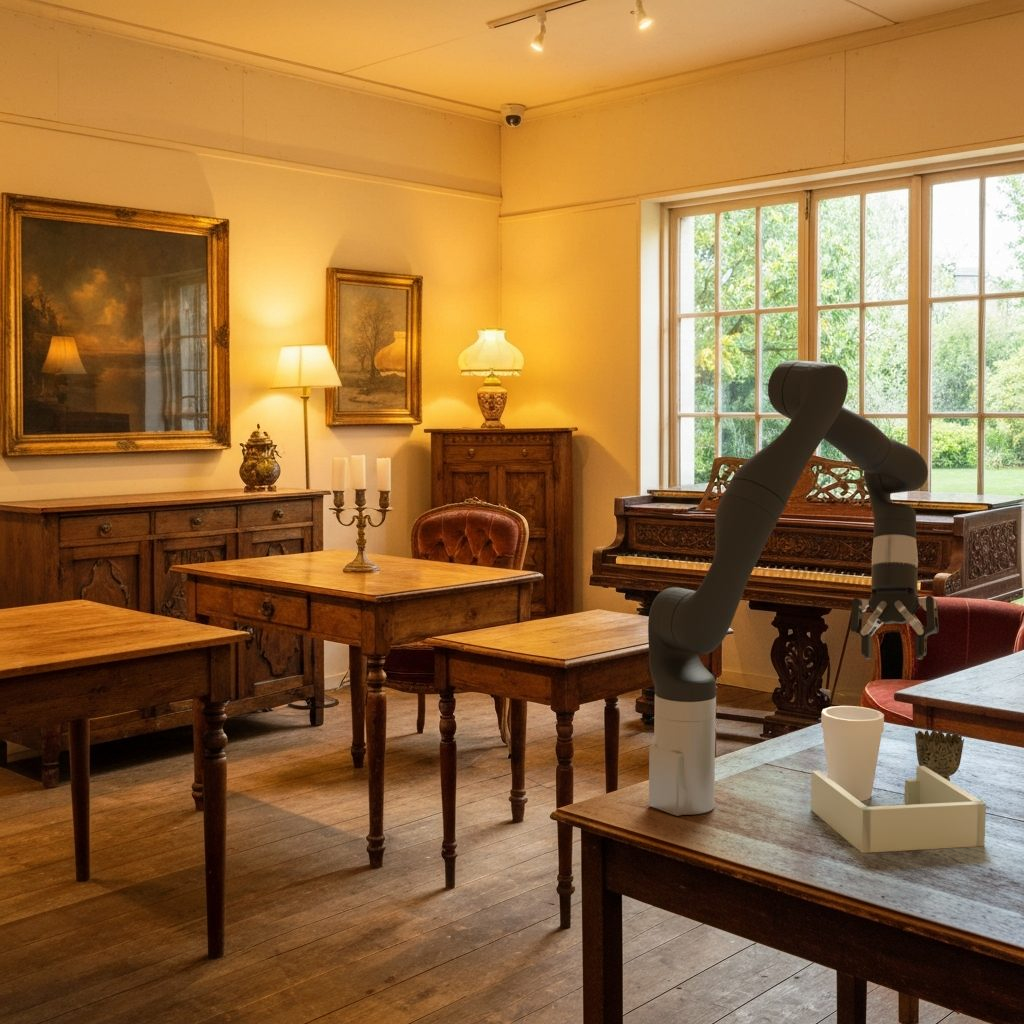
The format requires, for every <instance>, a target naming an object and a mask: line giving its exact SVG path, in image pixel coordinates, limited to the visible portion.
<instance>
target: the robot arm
mask: <svg viewBox="0 0 1024 1024" xmlns="http://www.w3.org/2000/svg"><path fill="white" fill-rule="evenodd" d="M848 380H849V379H848V377H847V373H846V372H845V370H844V368H842V367H841V365H840V366H839V365H838V364H835V363H830V362H825V361H824V362H821V361H811V360H792V359H791V360H787V361H783V362H781V363H779V364H778V365H777V366H776V367H775V368H774V369H773V370H772V372H771V374H770V376H769V379H768V383H767V395H768V399H769V402H770V404H771V406H772V408H773V409H774V410H775V412H777V413H778V414H780V415H782V416H783V417H785V418H787V419H789V420H790V421H789V423H788V425H786V427H785V428H784V430H783V431H782V432H781V433H780V434H779V435H778V436H777V437H776V438H775V439H774V440H772V441H771V442H770V443H769V444H767V445H766V446H765V447H763V448H762V449H760V450H759V451H757V452H756V453H755V454H754V455H752V456H751V457H750V458H749V459H748V460H746V461H745V462H744V463H742V465H741V466H740V467H739V468H738V469H737V470H736V472H735V473H734V474H733V476H732V478H730V481H729V483H728V485H727V486H726V489H725V490H724V492H723V494H722V496H721V499H720V500H719V503H718V504H717V507H716V511H715V517H714V538H715V540H714V541H715V542H714V543H715V545H714V555H713V559H712V561H711V564H710V566H709V569H708V570H707V572H706V575H705V576H704V579H703V580H702V581H701V583H700V585H699V587H698V588H697V590H693V589H688V588H682V587H668V588H665V589H663V590H662V591H660V592H659V593H658V594H657V595H656V597H655V598H654V599H653V601H652V604H651V606H650V609H649V614H648V622H647V623H648V624H647V633H648V635H647V637H648V663H649V664H648V665H649V673H650V676H651V678H652V682H653V685H654V723H653V725H654V727H653V729H654V731H653V732H654V734H653V736H654V737H653V738H654V739H653V743H651V744H650V745H649V750H648V751H649V752H648V753H649V754H648V758H649V759H648V765H649V766H648V769H649V770H648V806H649V807H651V808H654V809H657V810H660V811H662V812H666V813H667V814H670V815H673V816H677V817H678V816H682V815H683V816H685V815H701V814H706V813H708V812H711V811H712V810H714V808H715V796H716V795H715V790H716V789H715V785H716V784H715V783H716V781H715V780H716V721H717V720H716V719H717V715H716V713H717V708H716V707H717V679H716V678H715V676H714V675H713V674H712V673H711V672H710V671H709V670H708V669H707V667H705V666H704V664H703V663H702V660H701V659H700V657H699V656H700V655H702V656H703V655H707V654H709V653H712V652H714V651H715V650H716V649H717V648H718V647H720V645H721V644H722V642H723V641H724V640H725V638H726V636H727V634H728V632H729V630H730V627H731V625H732V623H733V621H734V617H735V616H736V612H737V609H738V607H739V605H740V602H741V599H742V597H743V594H744V592H745V589H746V588H747V584H748V582H749V580H750V577H751V575H752V573H753V570H754V569H755V567H756V565H757V563H758V561H759V558H760V556H761V554H762V552H763V550H764V548H765V546H766V544H767V542H768V540H769V538H770V536H771V535H772V533H773V531H774V530H775V527H776V526H777V523H778V522H779V520H780V517H781V516H782V515H783V513H784V511H785V508H786V506H787V503H788V502H789V499H790V498H791V495H792V493H793V490H794V489H795V487H796V485H797V483H798V482H799V479H800V478H801V477H802V474H803V473H804V471H805V469H806V467H807V465H808V464H809V462H810V460H811V458H812V456H813V455H814V454H815V452H816V450H817V448H818V447H819V445H820V444H821V442H822V441H823V440H824V441H826V442H828V443H829V444H830V445H832V446H833V447H834V448H835V449H836V450H838V451H839V452H840V453H842V455H844V456H845V457H846V458H847V459H848V460H849V461H850V462H852V463H853V464H854V465H855V466H856V467H858V469H860V470H861V471H862V472H863V480H864V484H865V486H866V487H865V488H866V490H867V492H868V497H869V501H870V506H871V509H872V514H873V542H872V547H871V548H872V549H871V550H872V551H871V590H870V591H871V595H870V598H869V599H861V598H858V597H854V598H853V599H852V602H851V603H852V604H851V615H850V616H851V618H850V632H853V633H854V634H857V635H860V637H861V638H860V639H861V645H860V646H861V647H860V649H861V651H860V652H861V655H863V656H864V658H865V659H866V660H873V657H874V655H873V652H874V648H873V647H874V638H873V637H872V636H873V635H874V634H875V632H876V631H877V630H878V629H879V628H880V627H881V626H882V625H883V624H885V625H893V624H898V625H899V624H900V625H905V624H906V623H908V624H909V626H911V627H912V629H913V631H914V632H916V633H915V634H916V635H915V637H914V642H915V643H914V650H915V651H914V655H915V659H916V660H924V657H926V656H927V653H928V652H927V651H928V649H927V647H928V646H927V645H928V644H927V643H928V641H927V640H928V637H929V636H931V635H933V634H937V633H939V629H940V628H939V627H940V626H939V614H938V613H939V611H938V600H937V599H936V598H934V597H933V596H932V595H928V596H927V597H920V598H919V596H918V565H919V558H918V557H919V555H918V547H917V513H916V510H915V508H914V507H912V506H911V505H909V504H904V503H899V502H898V503H897V502H892V499H891V498H892V497H891V494H898V493H899V494H900V493H906V492H907V493H908V492H914V491H917V490H919V489H920V488H921V487H923V486H924V485H925V484H926V481H927V480H928V475H929V474H928V473H929V468H928V464H927V463H926V461H925V458H924V457H923V456H922V455H921V454H920V452H919V451H917V450H916V449H914V448H913V447H911V446H909V445H906V444H905V443H902V442H899V441H898V440H895V439H891V438H889V437H888V435H886V434H885V433H884V432H883V431H882V430H881V429H880V428H879V427H878V426H876V425H875V424H874V423H873V422H872V421H870V420H868V419H867V418H865V417H863V416H862V415H860V414H858V413H856V412H854V411H852V410H850V409H848V408H845V407H843V406H844V404H845V402H846V398H847V395H848V388H849V382H848ZM920 606H921V607H922V609H923V610H924V611H925V613H926V614H925V615H926V626H924V625H923V624H922V623H921V621H920V620H919V619H918V617H917V616H916V615H915V613H916V611H917V610H918V609H919V607H920ZM868 607H870V609H871V610H872V614H871V615H870V616H869V618H868V619H867V621H866V624H865V625H864V626H863V621H864V620H863V619H864V613H865V612H866V611H867V609H868Z"/></svg>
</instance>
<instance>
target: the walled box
mask: <svg viewBox="0 0 1024 1024" xmlns="http://www.w3.org/2000/svg"><path fill="white" fill-rule="evenodd" d="M915 771H916V773H915V775H916V777H915V778H906V779H904V801H903V802H904V804H899V805H898V804H897V805H879V806H878V805H877V806H867V805H866V804H864V803H863V802H862V801H859V800H858V799H856V798H855V797H854V796H852V795H851V794H850V793H848V792H847V791H846V790H844V789H843V788H842V787H840V786H839V785H838V784H836V783H835V782H834V781H832V780H831V779H830V778H828V775H826V774H825V773H824V772H822V771H821V770H811V780H810V781H811V783H810V784H811V785H810V786H811V789H810V790H811V791H810V810H811V811H812V812H813V814H815V815H816V816H818V817H819V818H820V819H821V820H822V821H823V822H824V823H826V824H827V825H828V826H829V827H831V828H832V829H833V830H834V831H835V832H836V833H838V834H839V835H840V836H841V837H842V838H843V839H844V840H846V841H847V842H848V843H849V844H850V845H852V846H853V847H854V848H855V849H857V851H859V852H860V853H861V854H865V853H882V852H883V853H884V852H897V851H899V852H901V851H916V850H917V851H918V850H935V849H953V848H972V847H974V848H975V847H984V846H985V845H986V843H985V840H986V811H987V810H986V809H987V803H986V802H983V801H982V800H980V799H979V798H977V797H975V796H974V795H972V794H971V793H970V792H967V791H966V790H964V789H963V788H961V787H960V786H958V785H956V784H954V783H953V782H951V780H950V781H948V780H946V779H945V778H943V777H941V776H940V775H938V774H937V773H935V772H933V771H932V770H930V769H928V768H927V767H925V766H919V765H917V766H916V770H915Z"/></svg>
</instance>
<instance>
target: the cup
mask: <svg viewBox="0 0 1024 1024" xmlns="http://www.w3.org/2000/svg"><path fill="white" fill-rule="evenodd" d="M914 737H915V748H916V749H915V750H916V756H917V757H916V758H917V762H918V763H917V764H918V766H925V767H927V768H928V769H930V770H932V771H933V772H935V773H937V774H938V775H940V776H941V777H943V778H945V779H946V780H948V781H950V782H951V776H953V775H955V773H957V772H958V770H959V767H960V765H961V760H962V755H963V748H964V743H965V742H964V741H965V738H963V737H962V735H959V733H958V732H955V733H952V734H951V732H950V731H949V730H948V731H947V732H946V733H944V732H943V731H942V730H938V731H936V730H935V729H933V730H931V731H930V733H929V730H928V729H926V730H925V731H924V733H923V731H922V730H918V731H917V732H914Z"/></svg>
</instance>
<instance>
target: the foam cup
mask: <svg viewBox="0 0 1024 1024" xmlns="http://www.w3.org/2000/svg"><path fill="white" fill-rule="evenodd" d="M820 715H821V716H820V717H821V719H820V722H821V724H820V727H821V728H822V734H823V736H822V737H823V743H824V744H823V745H824V754H825V761H826V770H827V772H826V773H827V777H828V778H830V779H831V780H832V781H834V782H835V783H836V784H838V785H839V786H840V787H842V788H843V789H844V790H846V791H847V792H848V793H850V794H851V795H852V796H854V797H855V798H856V799H858V800H859V801H860V802H862V801H867V800H869V799H870V800H871V798H872V793H873V789H874V782H875V777H876V776H875V775H876V772H877V764H878V759H879V754H880V753H879V752H880V746H881V742H882V741H881V739H882V735H883V732H884V728H885V714H884V713H882V712H881V711H879V710H877V709H873V708H869V707H863V706H858V705H857V706H855V705H854V706H853V705H838V706H836V705H835V706H829V707H826V708H823V709H822V711H821V714H820Z"/></svg>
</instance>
